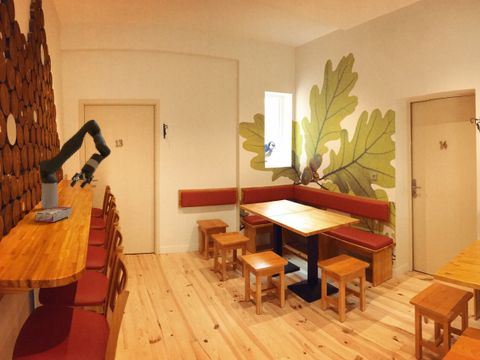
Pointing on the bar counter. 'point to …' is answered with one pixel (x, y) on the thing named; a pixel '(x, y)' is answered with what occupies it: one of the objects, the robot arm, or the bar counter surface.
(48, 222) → the mat
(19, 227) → the bar counter surface
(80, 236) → the bar counter surface
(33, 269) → the bar counter surface
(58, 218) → the candy bar box
